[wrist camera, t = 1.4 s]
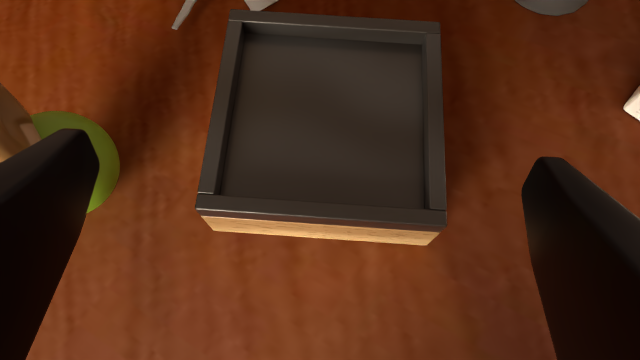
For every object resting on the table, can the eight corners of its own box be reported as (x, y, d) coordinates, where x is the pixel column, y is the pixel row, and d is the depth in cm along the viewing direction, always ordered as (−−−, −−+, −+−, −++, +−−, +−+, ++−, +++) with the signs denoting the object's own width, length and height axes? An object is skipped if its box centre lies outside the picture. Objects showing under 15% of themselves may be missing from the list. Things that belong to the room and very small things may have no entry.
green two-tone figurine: (101, 112, 26) (-56, -62, 15) (153, 194, 25) (16, 65, 13) (15, 160, 25) (-226, 10, 14) (62, 250, 23) (-172, 161, 12)
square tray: (426, 245, 24) (447, 226, 20) (213, 230, 24) (194, 209, 20) (423, 65, 28) (440, 21, 24) (241, 53, 28) (229, 8, 24)
